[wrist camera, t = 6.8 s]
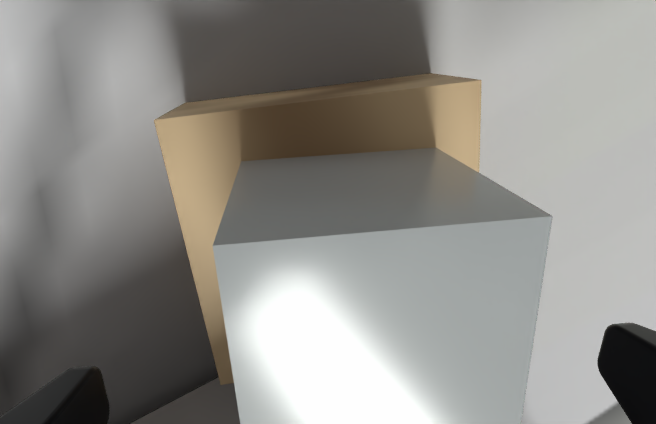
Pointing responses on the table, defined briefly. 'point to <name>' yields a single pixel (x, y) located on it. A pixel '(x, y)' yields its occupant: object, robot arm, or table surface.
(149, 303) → the table surface
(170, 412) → the organizer tray
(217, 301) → the oak block
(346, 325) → the stone cube
